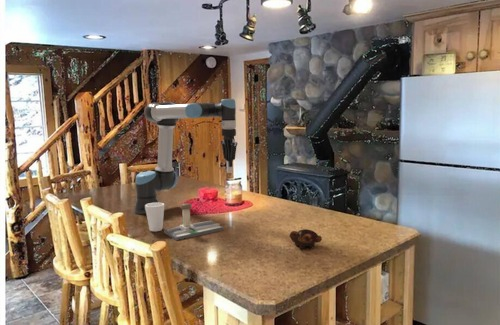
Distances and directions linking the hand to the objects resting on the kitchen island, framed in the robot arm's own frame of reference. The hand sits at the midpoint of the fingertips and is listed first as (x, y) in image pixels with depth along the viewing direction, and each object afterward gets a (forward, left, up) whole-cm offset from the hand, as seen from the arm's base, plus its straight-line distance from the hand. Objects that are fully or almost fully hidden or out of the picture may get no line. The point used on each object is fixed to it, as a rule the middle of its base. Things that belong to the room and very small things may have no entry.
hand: (229, 172), depth 218 cm
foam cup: (-10, -39, -27) cm, 48 cm away
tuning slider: (+7, -29, -25) cm, 39 cm away
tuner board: (+5, -26, -27) cm, 37 cm away
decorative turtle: (+55, +4, -27) cm, 61 cm away
